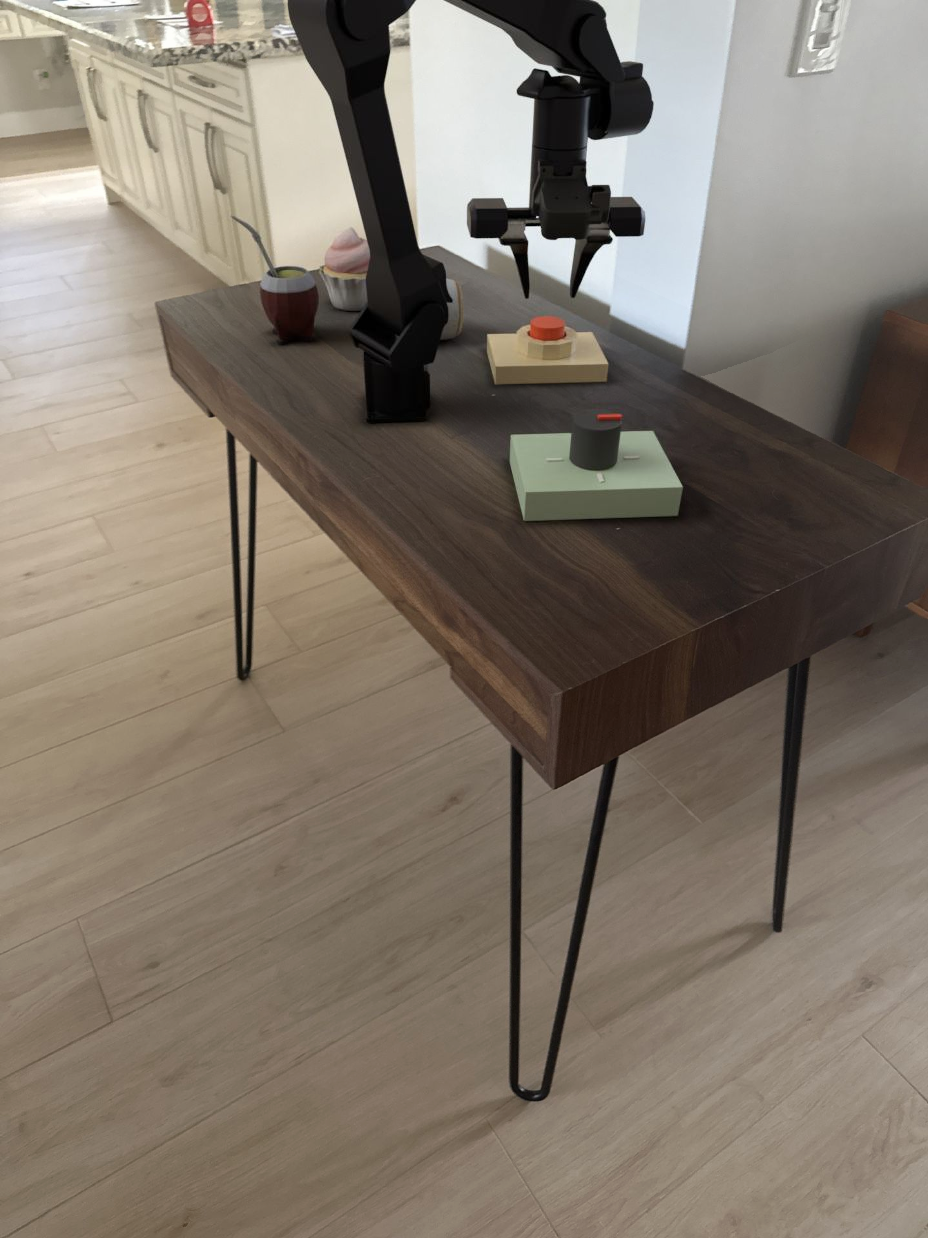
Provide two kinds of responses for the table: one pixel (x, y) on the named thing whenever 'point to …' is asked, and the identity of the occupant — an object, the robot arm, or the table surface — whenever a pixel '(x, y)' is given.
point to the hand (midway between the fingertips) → (549, 297)
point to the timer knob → (595, 439)
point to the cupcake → (347, 271)
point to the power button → (547, 328)
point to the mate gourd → (287, 297)
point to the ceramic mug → (453, 311)
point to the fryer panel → (593, 479)
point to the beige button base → (546, 358)
